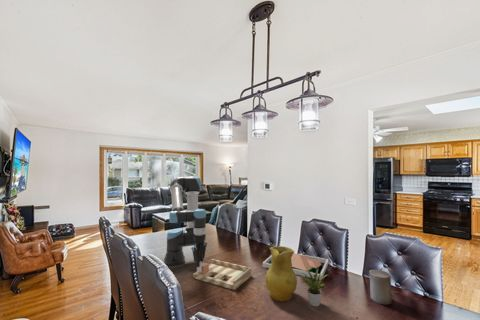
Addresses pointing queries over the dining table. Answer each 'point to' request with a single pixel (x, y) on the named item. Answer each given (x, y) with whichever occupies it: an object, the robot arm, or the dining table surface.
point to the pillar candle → (380, 286)
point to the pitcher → (281, 274)
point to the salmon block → (204, 268)
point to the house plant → (314, 288)
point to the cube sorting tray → (225, 274)
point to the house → (304, 262)
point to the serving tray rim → (299, 272)
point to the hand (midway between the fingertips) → (199, 271)
